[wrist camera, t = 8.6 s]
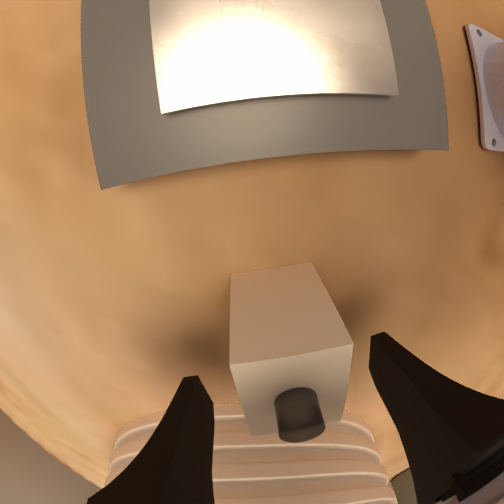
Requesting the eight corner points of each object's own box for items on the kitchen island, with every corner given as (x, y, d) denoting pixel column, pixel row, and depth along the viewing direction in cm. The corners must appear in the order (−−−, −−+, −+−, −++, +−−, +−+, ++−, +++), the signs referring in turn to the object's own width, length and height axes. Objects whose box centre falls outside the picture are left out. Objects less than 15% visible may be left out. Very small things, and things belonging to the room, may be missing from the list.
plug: (311, 261, 14) (369, 376, 7) (313, 337, 16) (349, 447, 9) (230, 273, 14) (229, 402, 7) (245, 348, 16) (253, 464, 9)
